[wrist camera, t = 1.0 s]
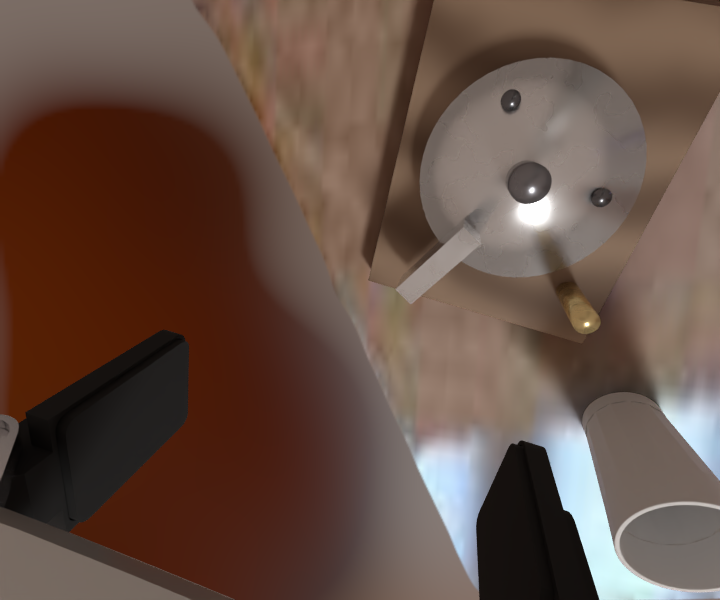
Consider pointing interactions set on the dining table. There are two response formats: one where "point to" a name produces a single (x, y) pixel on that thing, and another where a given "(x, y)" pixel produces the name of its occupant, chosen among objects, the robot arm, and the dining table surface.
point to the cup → (655, 494)
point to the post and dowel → (530, 187)
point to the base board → (566, 41)
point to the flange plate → (534, 143)
